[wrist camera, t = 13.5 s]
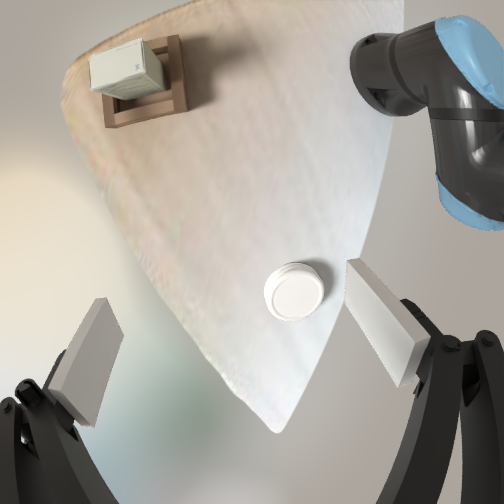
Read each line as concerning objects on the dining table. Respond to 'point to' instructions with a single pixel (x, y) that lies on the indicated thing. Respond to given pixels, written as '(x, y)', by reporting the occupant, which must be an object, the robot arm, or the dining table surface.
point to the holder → (156, 104)
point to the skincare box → (127, 71)
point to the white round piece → (293, 291)
